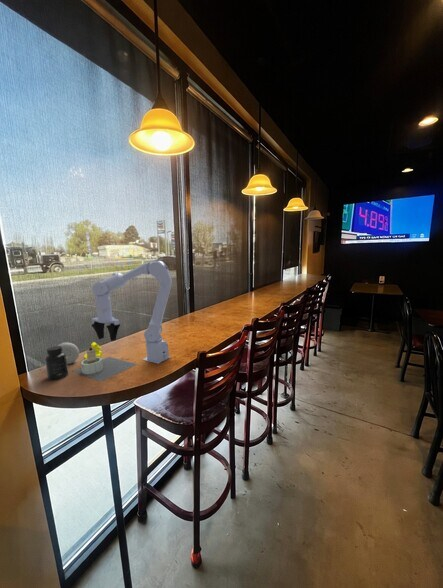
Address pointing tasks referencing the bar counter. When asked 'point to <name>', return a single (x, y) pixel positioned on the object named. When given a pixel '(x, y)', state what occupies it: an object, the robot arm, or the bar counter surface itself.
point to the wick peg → (91, 355)
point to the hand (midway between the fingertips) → (107, 339)
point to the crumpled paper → (97, 347)
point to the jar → (92, 366)
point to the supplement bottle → (56, 363)
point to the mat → (108, 368)
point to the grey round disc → (71, 349)
